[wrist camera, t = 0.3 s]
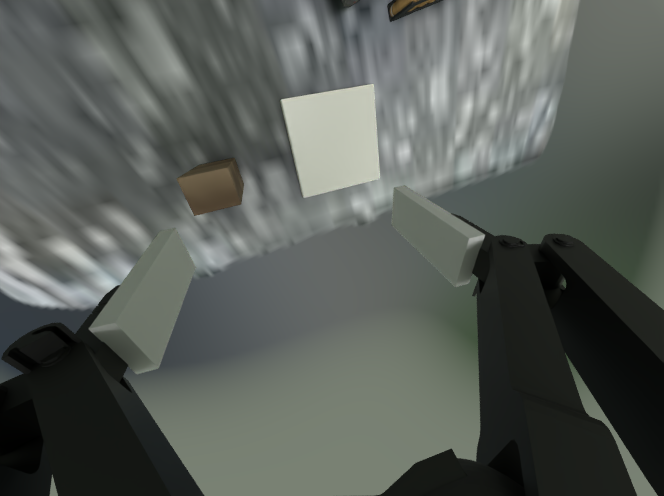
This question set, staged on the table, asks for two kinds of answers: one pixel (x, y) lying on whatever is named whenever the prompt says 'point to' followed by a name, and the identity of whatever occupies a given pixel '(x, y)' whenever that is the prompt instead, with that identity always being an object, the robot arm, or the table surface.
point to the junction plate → (333, 138)
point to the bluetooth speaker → (348, 2)
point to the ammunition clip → (407, 7)
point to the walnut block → (212, 186)
